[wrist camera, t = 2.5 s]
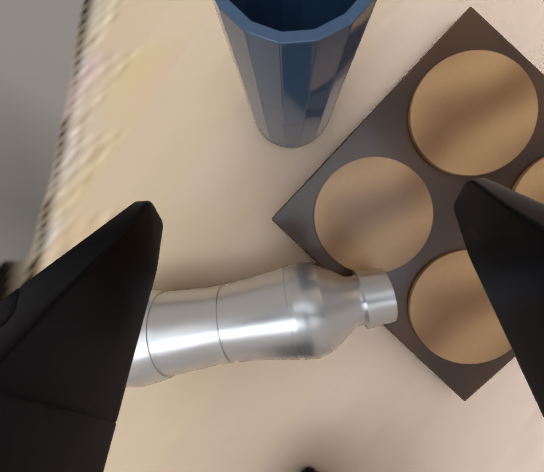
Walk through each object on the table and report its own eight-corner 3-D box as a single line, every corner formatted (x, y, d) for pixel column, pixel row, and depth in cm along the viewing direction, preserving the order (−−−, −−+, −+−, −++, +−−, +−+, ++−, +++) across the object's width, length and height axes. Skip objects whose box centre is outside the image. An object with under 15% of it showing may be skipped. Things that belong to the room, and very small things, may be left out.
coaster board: (654, 207, 19) (693, 205, 18) (452, 389, 21) (468, 405, 19) (457, 21, 20) (475, 0, 18) (272, 219, 21) (270, 219, 19)
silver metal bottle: (104, 279, 20) (370, 226, 18) (147, 329, 24) (369, 290, 22) (51, 362, 15) (415, 300, 13) (117, 409, 19) (403, 366, 17)
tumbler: (346, 105, 20) (437, -72, 8) (292, 163, 21) (299, 83, 8) (290, 52, 20) (292, -209, 8) (238, 112, 21) (163, -45, 8)
